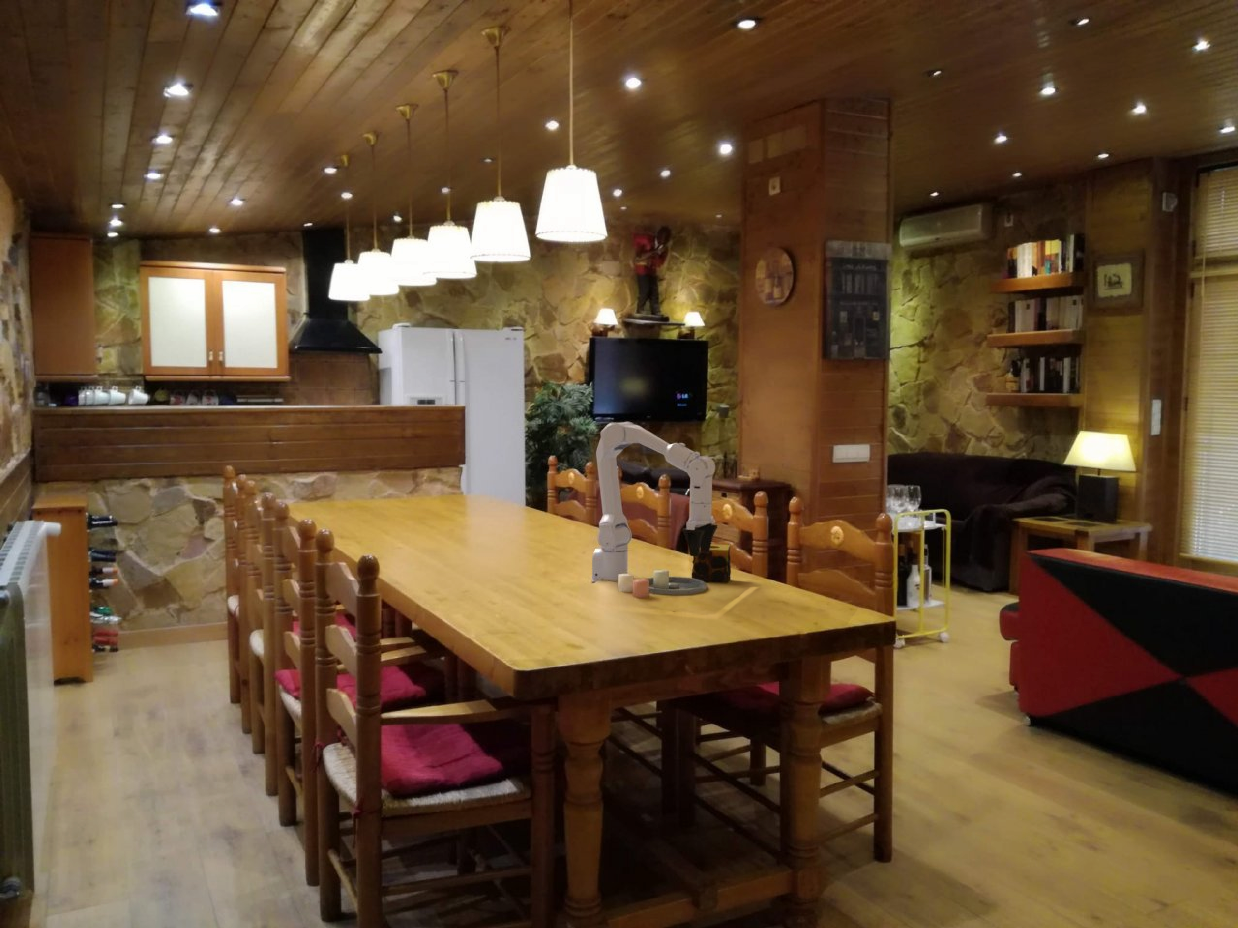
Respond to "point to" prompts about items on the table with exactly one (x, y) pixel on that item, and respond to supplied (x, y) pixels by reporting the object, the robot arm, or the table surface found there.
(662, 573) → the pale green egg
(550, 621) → the table surface
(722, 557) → the yellow black patterned cube
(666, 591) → the groove tray
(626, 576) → the bead
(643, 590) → the bead
